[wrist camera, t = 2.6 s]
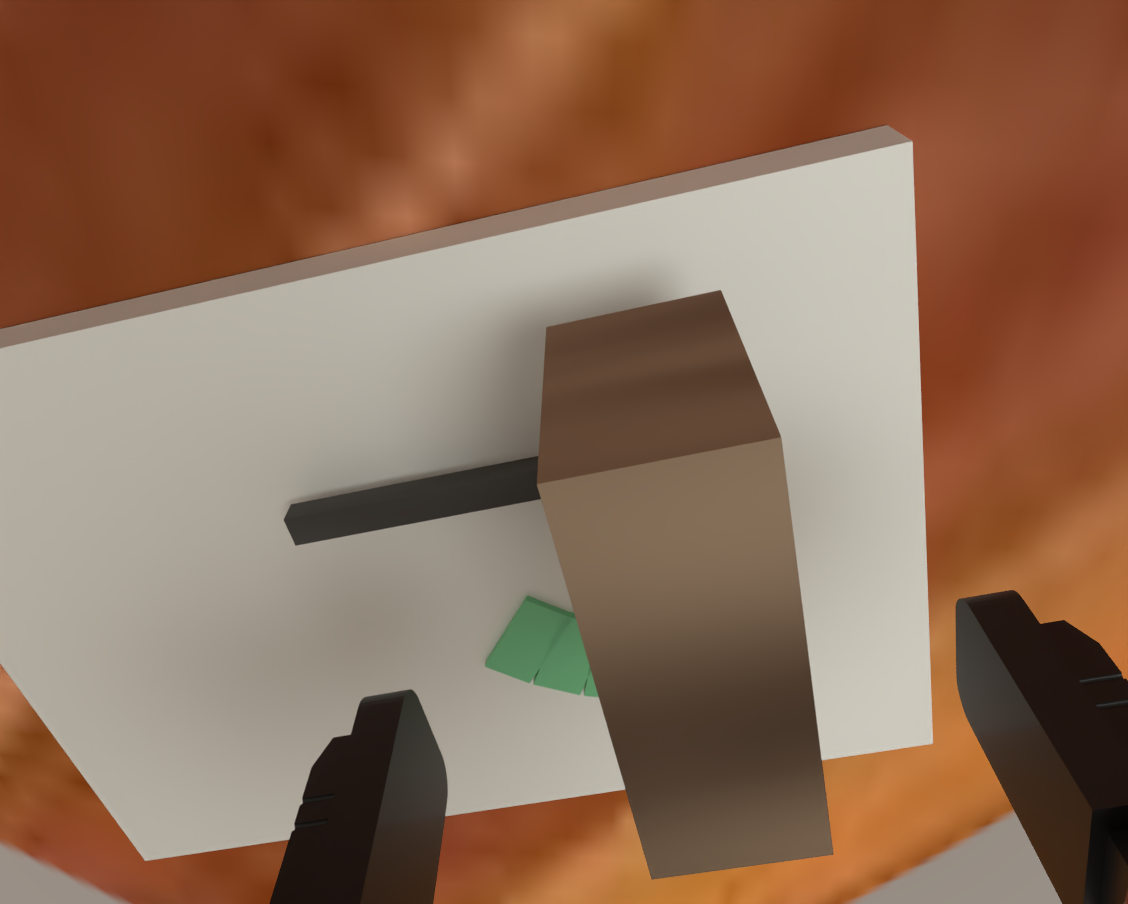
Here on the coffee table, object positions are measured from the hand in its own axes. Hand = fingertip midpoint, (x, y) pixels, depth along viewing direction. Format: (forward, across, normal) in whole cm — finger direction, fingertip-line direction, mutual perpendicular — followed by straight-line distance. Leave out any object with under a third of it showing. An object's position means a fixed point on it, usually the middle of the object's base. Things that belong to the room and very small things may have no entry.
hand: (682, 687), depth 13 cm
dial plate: (+9, +6, +3) cm, 11 cm away
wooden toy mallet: (+7, +3, 0) cm, 8 cm away
